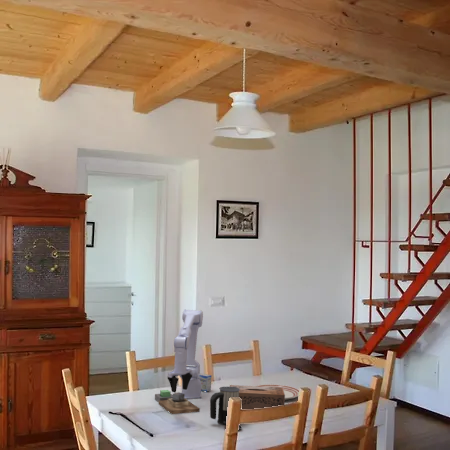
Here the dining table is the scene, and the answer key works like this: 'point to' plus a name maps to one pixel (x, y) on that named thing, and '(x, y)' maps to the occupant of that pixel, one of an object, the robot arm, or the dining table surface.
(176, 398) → the block
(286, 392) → the dinner plate
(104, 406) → the dining table surface
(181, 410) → the brown wooden base
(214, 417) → the milk frother
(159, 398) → the button housing
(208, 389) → the medicine box
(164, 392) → the button
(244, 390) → the tissue box cover
